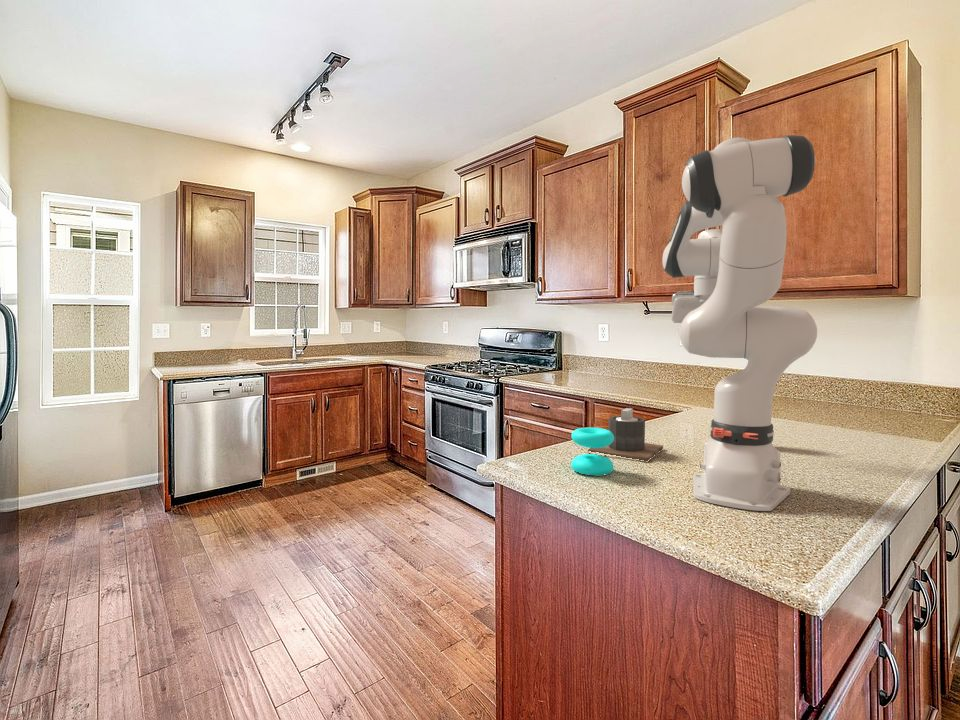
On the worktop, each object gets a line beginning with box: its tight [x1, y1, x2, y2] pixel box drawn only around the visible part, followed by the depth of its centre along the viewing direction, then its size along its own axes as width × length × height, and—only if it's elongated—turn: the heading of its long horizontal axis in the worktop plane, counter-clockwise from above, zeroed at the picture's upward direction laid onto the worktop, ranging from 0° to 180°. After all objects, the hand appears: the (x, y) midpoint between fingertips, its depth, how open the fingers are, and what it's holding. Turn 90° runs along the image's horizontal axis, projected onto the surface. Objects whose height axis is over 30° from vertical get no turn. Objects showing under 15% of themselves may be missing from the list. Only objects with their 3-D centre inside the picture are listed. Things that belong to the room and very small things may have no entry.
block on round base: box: [616, 407, 638, 422], centre depth 138 cm, size 6×6×5 cm
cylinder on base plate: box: [587, 415, 664, 462], centre depth 138 cm, size 16×16×9 cm
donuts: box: [570, 427, 614, 476], centre depth 120 cm, size 10×10×10 cm
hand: (709, 339), depth 139 cm, fingers closed
